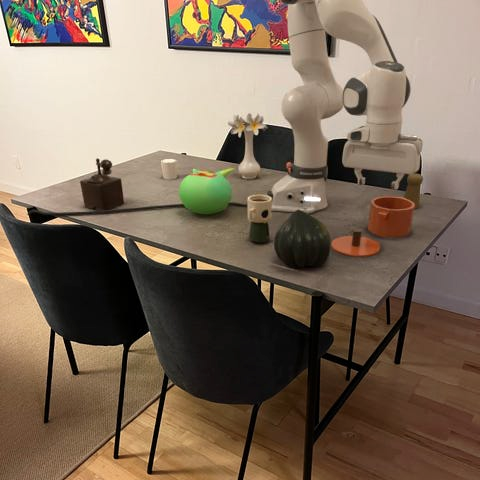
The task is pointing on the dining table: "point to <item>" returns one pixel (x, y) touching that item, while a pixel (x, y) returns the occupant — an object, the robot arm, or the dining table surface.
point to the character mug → (259, 217)
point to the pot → (391, 216)
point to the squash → (302, 241)
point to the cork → (414, 188)
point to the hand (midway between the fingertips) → (377, 186)
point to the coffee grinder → (102, 189)
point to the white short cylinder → (169, 168)
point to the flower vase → (248, 142)
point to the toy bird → (206, 191)
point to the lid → (355, 245)
